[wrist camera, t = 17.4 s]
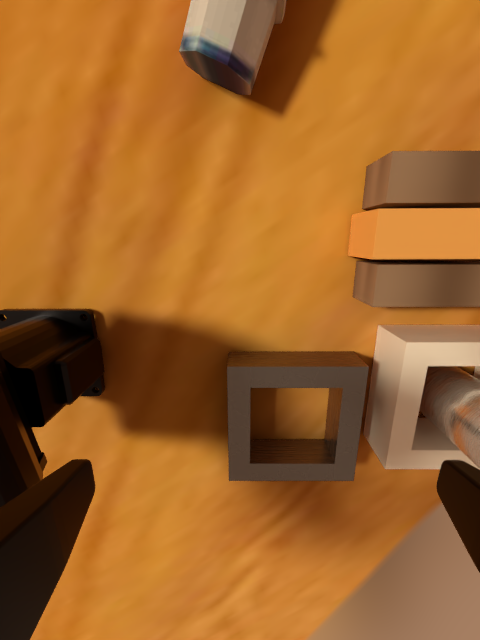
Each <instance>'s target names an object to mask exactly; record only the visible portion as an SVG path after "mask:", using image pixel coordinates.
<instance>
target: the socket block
mask: <svg viewBox="0 0 480 640" xmlns="http://www.w3.org/2000/svg"><path fill="white" fill-rule="evenodd" d="M368 370H369V366H368V365H367V364H366V363H365V362H364V361H363V360H362V359H361V358H360V357H359V356H358V355H357V354H356V353H355V352H229V354H228V363H227V390H228V449H229V481H354V474H355V467H356V459H357V452H358V444H359V437H360V430H361V422H362V415H363V407H364V400H365V392H366V385H367V377H368ZM251 388H329V398H328V409H327V419H326V430H325V440H250V390H251Z"/></svg>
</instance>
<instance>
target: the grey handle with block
mask: <svg viewBox="0 0 480 640" xmlns="http://www.w3.org/2000/svg"><path fill="white" fill-rule="evenodd" d="M286 1H287V0H191V4H190V8H189V12H188V16H187V21H186V25H185V29H184V33H183V38H182V42H181V46H180V51H179V52H180V54H181V55H182V57H183V59H184V61H185V63H186V65H187V66H188V67H190V68H191V69H192V70H194V71H195V72H196V73H198V74H199V75H200V76H202V77H203V78H205V79H207V80H209V81H211V82H213V83H216V84H218V85H220V86H222V87H224V88H226V89H228V90H230V91H233V92H235V93H237V94H243V95H251V92H252V89H253V86H254V83H255V80H256V77H257V74H258V71H259V68H260V65H261V62H262V59H263V56H264V53H265V50H266V47H267V44H268V41H269V37H270V34H271V31H272V28H273V25H274V24H281V23H282V21H283V18H284V14H285V7H286Z"/></svg>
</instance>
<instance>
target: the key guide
mask: <svg viewBox="0 0 480 640" xmlns="http://www.w3.org/2000/svg"><path fill="white" fill-rule="evenodd" d="M399 208H480V151H392V152H391V153H389V154H387V155H385V156H384V157H382V158H380V159H379V160H377V161H375V162H374V163H372V164H370V165H368V166H367V170H366V179H365V188H364V197H363V207H362V209H399ZM353 297H354V298H356V299H358V300H360V301H362V302H364V303H366V304H368V305H370V306H372V307H480V259H479V261H357V262H356V271H355V280H354V290H353Z"/></svg>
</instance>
